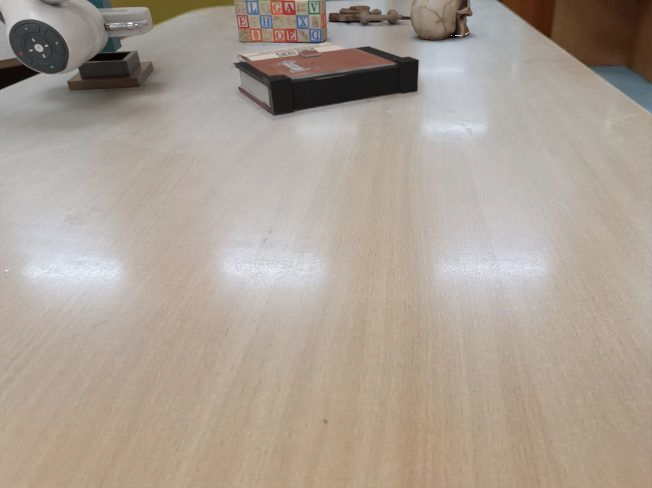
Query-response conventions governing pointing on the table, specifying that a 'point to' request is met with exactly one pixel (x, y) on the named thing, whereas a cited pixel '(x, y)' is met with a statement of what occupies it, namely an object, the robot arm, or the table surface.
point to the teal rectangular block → (113, 42)
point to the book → (326, 78)
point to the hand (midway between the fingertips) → (99, 16)
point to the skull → (440, 18)
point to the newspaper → (286, 51)
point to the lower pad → (111, 71)
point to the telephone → (366, 15)
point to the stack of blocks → (281, 20)
